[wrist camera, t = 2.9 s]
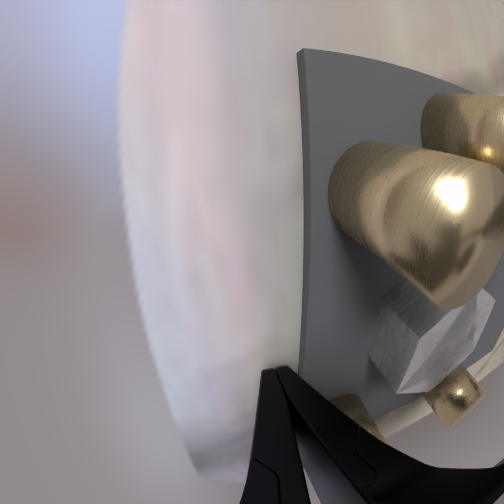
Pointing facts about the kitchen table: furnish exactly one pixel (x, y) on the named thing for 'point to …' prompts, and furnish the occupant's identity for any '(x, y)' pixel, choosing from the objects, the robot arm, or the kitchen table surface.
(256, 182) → the kitchen table surface
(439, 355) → the clear faceted crystal
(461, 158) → the brass spacers
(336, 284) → the mat
